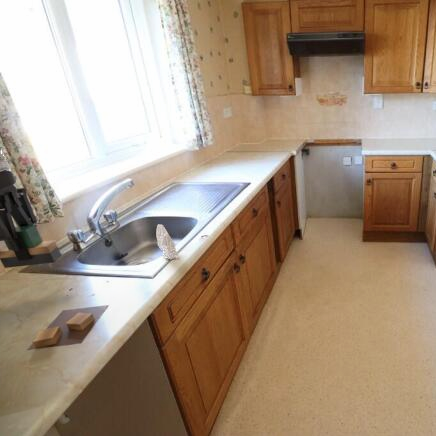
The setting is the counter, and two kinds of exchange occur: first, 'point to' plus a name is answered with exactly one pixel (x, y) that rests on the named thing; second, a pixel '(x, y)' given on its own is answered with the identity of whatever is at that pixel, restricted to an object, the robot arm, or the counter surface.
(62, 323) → the tray
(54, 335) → the tan flat block
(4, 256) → the brush
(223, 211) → the counter surface
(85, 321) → the tan wooden block
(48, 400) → the counter surface
